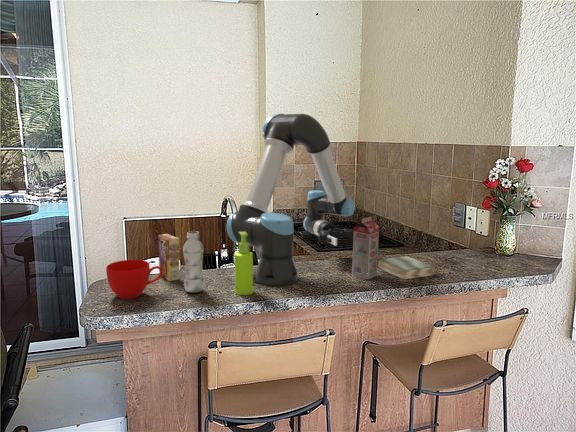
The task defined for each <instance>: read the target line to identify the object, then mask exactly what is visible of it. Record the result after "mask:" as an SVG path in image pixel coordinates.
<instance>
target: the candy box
mask: <svg viewBox="0 0 576 432" xmlns="http://www.w3.org/2000/svg"><path fill="white" fill-rule="evenodd" d="M157 236H158V237H157V239H158V266H159V267H161V268H162V275H161V277H162V278H163V279H165V280H167V281H168V282H173V281H178V280H180V278H181V277H180V275H181V274H180V271H181V270H180V237H177V236H175V235H172V234H169V233H164V234H163V233H162V234H158V235H157ZM158 270H159V271H158V272H159V274H160V269H158ZM161 277H160V278H161Z"/></svg>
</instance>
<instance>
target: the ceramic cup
mask: <svg viewBox="0 0 576 432" xmlns="http://www.w3.org/2000/svg"><path fill="white" fill-rule="evenodd" d="M157 269H158V270H159V269H160V274H159V275H158V276H157V277H155V278H153V279H152V280H149V279H150V275H151V273H152V271H153V270H157ZM105 270H106V278H107V281H108V285H109V287H110V289H111V291H112V292H113V293H114V294H115V295H116V296H117V297H118V298H120V299H124V300H129V299H135V298H138V297H140V296H141V295H142V293H143V292H144V291H145V289H146V288H147V286H148V285H150V284H152V283H155V282H156V281H158V280H159V279H160V278H161V275H162V268H161V267H159V265H156V266H152V267H150V263H149V262H148V261H145V260H141V259H124V260H119V261H115V262H112V263H109V264H108V265H107V266H106V268H105Z"/></svg>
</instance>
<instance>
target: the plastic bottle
mask: <svg viewBox="0 0 576 432" xmlns="http://www.w3.org/2000/svg"><path fill="white" fill-rule="evenodd" d="M199 238H200V232H199V231H196V230H191V231H190V230H189V231H187V233H186V239H187V240H186V241H185V243H184V244H183V246H182V252H183V258H184V264H185V265H184V266H185V271H184V272H185V273H184V274H185V275H184V281H183V287H184V290H185V291H186V292H188V293H193V294H195V293H199V292H200V293H201V292H202V291H203V290H204V289H205V285H206V284H205V283H206V282H205V277H204V272H203V258H204V245H203V244H202V242H201V241H200V240H199Z"/></svg>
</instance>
